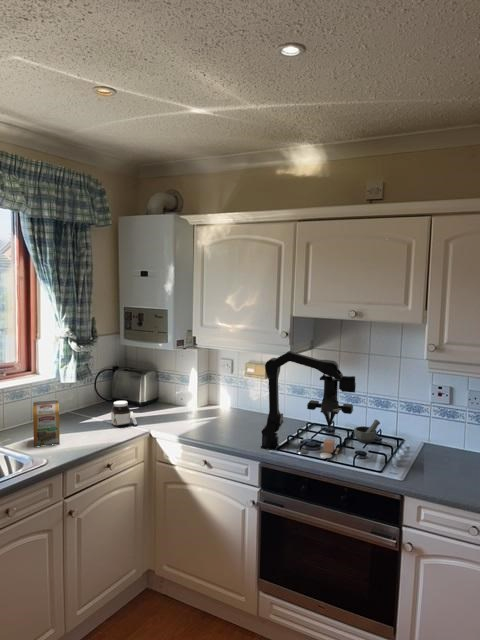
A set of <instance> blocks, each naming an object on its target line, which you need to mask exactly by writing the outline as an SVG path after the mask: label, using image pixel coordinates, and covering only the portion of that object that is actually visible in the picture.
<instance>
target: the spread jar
mask: <svg viewBox="0 0 480 640" xmlns="http://www.w3.org/2000/svg"><path fill="white" fill-rule="evenodd" d="M110 414H111V415H110V417H111V418H110V420H111V423H112V426H113V427H115V428H124V427H127V426H129V425H130V424H131V419H132V422H133V424H134V426H136V425H137V424H138V423H137V420H136V417H135V414H134V412H133V411H131V409H130V406H128V401H127V400H116V401H114V402H113V406H112V407H111V413H110Z"/></svg>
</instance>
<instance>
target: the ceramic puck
mask: <svg viewBox="0 0 480 640" xmlns="http://www.w3.org/2000/svg"><path fill="white" fill-rule="evenodd" d="M319 456H320V457H321V458H325V459H330V458H332V457H333V454H331V453H330V452H321V453H320V454H319Z"/></svg>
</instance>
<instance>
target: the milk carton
mask: <svg viewBox="0 0 480 640" xmlns="http://www.w3.org/2000/svg"><path fill="white" fill-rule="evenodd" d="M59 407H60V405H59V399H49V400H48V399H47V400H37V401H36V400H35V401H34V400H33V401H32V421H33V424H32V425H33V429H32V430H33V447H34V446H40V447H42V446H41V445H49V446H53V445H52V444H58V445H61V444H60V443H61V442H60V441H61V440H60V408H59Z"/></svg>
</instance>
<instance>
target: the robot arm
mask: <svg viewBox="0 0 480 640" xmlns="http://www.w3.org/2000/svg"><path fill="white" fill-rule="evenodd" d="M289 362H291V363H295V364H297V365H303V366H304V367H309V368H312V369H314V370H315V369H316V370H317V371H319V372H320V373H321V374H322V375H321V376H320V377H319V381H323V398H322V400H321V403H320V401H319V400H312V399H311V400H309V402H307V405H306V406H307V407H306V409H307V410H312V411H315V410H316V409H317V408H318V409H319V408H320V413H322V414H323V415H324V418H325V421H326V424H327V427H332V424H333V421H334V418H335V416H336V415H338V414H339V413H340V411H341V412H342V413H343V414H345V415H346V414H347V415H351V414H352V413H353V412H354V405H353V404H352V403H351V404H350V403H343V405H340V404H339V403H340V402H339V400H338V391H339V390H340V391H341V392H342V393H352V394H353V393H356V388H357V387H356V385H357V383H356V376H354V375H343V373H342V371H341V370H340V367H339V364H338V362H337V361H335V360H331V359H329V360H328V359H317V358H315V357H310V356H308V355H304V354H301V353H298V352H294V351H293V350H288V351H287V352H285V353H284V354H282V355H280V356H278V357H271V358H270V359H268V360H267V361H266V362H265V365H264V369H265V373H266V377H267V379H268V405H269V406H268V407H269V408H268V410H269V411H268V415H267V421H266V425H265V426H264V428H263V429H262V430H261V431H260V432H261V446H260V448H261V449H264V450H265V449H266V450H270V451H271V450H272V451H275V450H276V449H277V448H278V446H279V436H278V433H277V432H278V431H279V430H280V428H281V427H282V425H283V424H284V418H283V417H284V413H281V412H280V403H279V377H280V373H281V367H282V366H284V365H285V364H287V363H289Z"/></svg>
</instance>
